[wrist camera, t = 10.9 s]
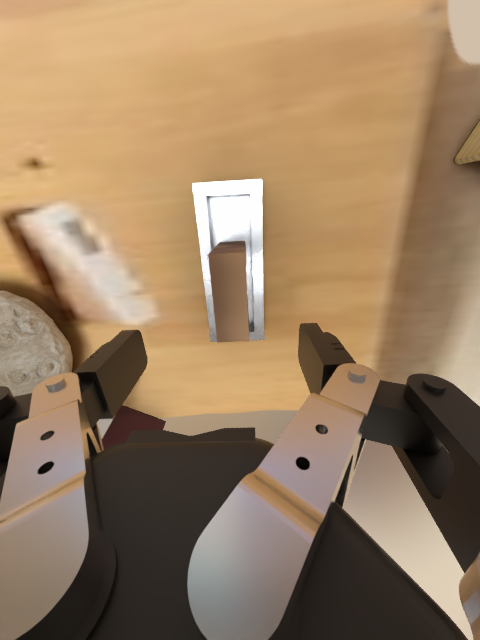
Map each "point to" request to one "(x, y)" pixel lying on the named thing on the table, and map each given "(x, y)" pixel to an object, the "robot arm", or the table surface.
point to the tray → (233, 239)
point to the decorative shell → (29, 345)
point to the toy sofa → (470, 148)
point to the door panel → (229, 291)
